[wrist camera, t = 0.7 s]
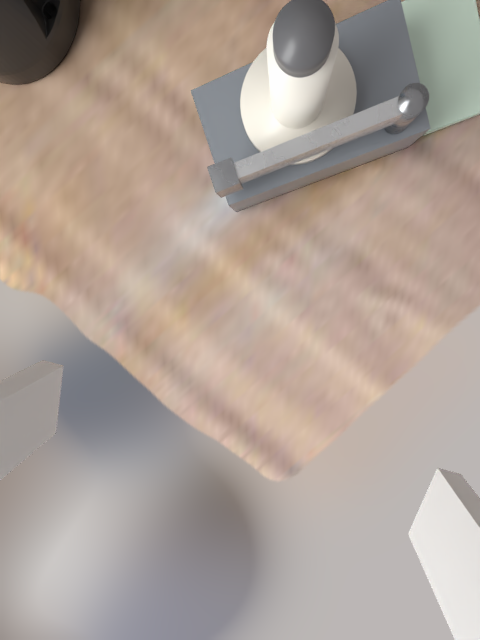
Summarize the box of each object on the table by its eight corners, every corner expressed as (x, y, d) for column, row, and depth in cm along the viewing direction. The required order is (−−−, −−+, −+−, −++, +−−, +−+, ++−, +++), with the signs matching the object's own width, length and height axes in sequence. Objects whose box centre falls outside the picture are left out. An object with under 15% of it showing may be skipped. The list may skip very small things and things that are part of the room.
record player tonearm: (217, 178, 30) (207, 166, 26) (404, 103, 27) (425, 77, 23) (224, 200, 30) (215, 192, 26) (410, 128, 27) (432, 107, 23)
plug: (234, 96, 32) (199, -19, 19) (328, 55, 31) (365, -106, 17) (264, 190, 34) (251, 148, 20) (355, 156, 32) (409, 83, 18)
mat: (393, 10, 30) (396, 4, 29) (464, -22, 29) (469, -29, 28) (423, 135, 31) (426, 132, 31) (491, 110, 30) (496, 106, 30)
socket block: (204, 114, 34) (190, 90, 29) (380, 36, 30) (399, -6, 25) (236, 211, 35) (228, 205, 30) (408, 147, 32) (430, 128, 27)
